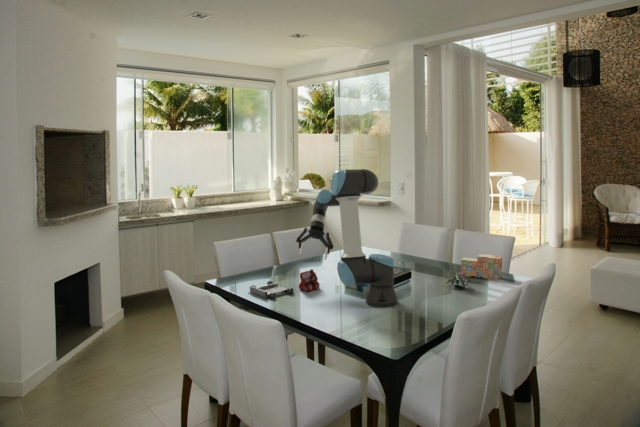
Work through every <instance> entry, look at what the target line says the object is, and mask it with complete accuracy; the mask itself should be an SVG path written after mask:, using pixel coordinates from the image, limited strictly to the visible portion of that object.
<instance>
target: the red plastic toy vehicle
mask: <svg viewBox="0 0 640 427" xmlns="http://www.w3.org/2000/svg"><path fill="white" fill-rule="evenodd" d="M299 279H300V283H299V284H298V289H299V290H300V291H304V290H306V291H307V292H308V293H312V291H313V290H314V291H315V290H316V291H317V290H319V289H320V283H319V281H318V276H317V273H316V272H314V269H310V270H305V271H302V272H300V273H299Z"/></svg>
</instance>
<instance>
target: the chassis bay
mask: <svg viewBox="0 0 640 427" xmlns="http://www.w3.org/2000/svg"><path fill="white" fill-rule="evenodd" d="M248 294H250V295H252V296H253V297H257V298H259V299H262V300H270V299H271V300H274V299H276V298H277V297H280V296H284V295H287V294H289V295H293V294H294V289H293V287H288V288H286V287H284V286H280V285H279V282H273V281H271V280H268V281H267V283H266V285H262V286H258V287H257V286H256V285H254V284H252V285H250V286H249V291H248Z"/></svg>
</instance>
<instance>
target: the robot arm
mask: <svg viewBox="0 0 640 427" xmlns="http://www.w3.org/2000/svg"><path fill="white" fill-rule="evenodd" d="M330 180H331V181H330V190H329V189H326V188H323V189H321V190H319V192H318V193H317V194H316V199H315V201H314V202H313V206H312V212H311V213H312V215H311V220H310V226H309V228H307V227H304V230H303V231H302V232H301V233H300V234H299V236H297V238H296V239H295V242H296V243H298V249H299V255H300V256H301V255H302V252H303V245H304V243H305V242H306V241H307V240H310V239H311V238H312V239H315V240H319V241H320V242H321V243H322V244H323V246H324V247H325V251H324V252H325V253H324V261H326V260H327V258H328V255H329V254H330V251H333V249H334V243H333V242H332V239H331V237H330V233H329V232H324V229H325V224H326V222H325V221H326V214H327V210H328V207H339V213H340V223H341V224H340V225H341V226H340V227H341V236H342V246H343V247H342V248H343V249H342V250H343V254H342V255H341V256H340V260H339V261H338V262H337V268H336V271H337V275H338V277H339V280H340V282H341V283H342V284H343V285H344V286H356V285H365V284H369V285H368V290H367V293H366V296H365V304H366V305H368V306H370V307H374V308H391V307H394V306H396V305H398V296H397V295H396V291H395V288H394V287H395V286H394V284H395V283H394V282H395V278H394V277H395V264H394V262H395V261H394V258H393V257H392V256H390V255H386V254H381V253H380V254H379V253H371V254H368V258H367V257H366V254H365V253H364V252H363V247H362V236H361V227H360V226H361V224H360V212H359V202H358V201H359V200H360V198H361V197H363V196H365V195H370V194H373V193H374V192H375V191H376V190H377V189H378V187H379V178H378V176H377V174H376V173H374V172H373V171H371V170H370V169H365V168H361V169H360V168H359V169H358V168H357V169H355V168H354V169H338V170H335V172H333V174H332V176H331V179H330ZM307 233H308V234H307ZM306 234H307V235H306Z"/></svg>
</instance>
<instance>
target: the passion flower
mask: <svg viewBox="0 0 640 427" xmlns="http://www.w3.org/2000/svg"><path fill="white" fill-rule="evenodd" d="M453 272H454V275H453V277H451V278H450V277H448V275H445V277H446V278H445V279H448V281H446V283H445V284H446V285H447V284H448V283H450V286H449V288H452V286H453V285H454V284H455V283H456V285H459V283H460V282H461V286H462V288H463V289H467V288H468V287H467V285H468V283H469V282H468V279H469V278H470V276H468V275H467V274H466V272H464V275H463V274H461V271H458V270H457V271H456V270H455V269H453ZM466 277H467V278H466Z"/></svg>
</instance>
